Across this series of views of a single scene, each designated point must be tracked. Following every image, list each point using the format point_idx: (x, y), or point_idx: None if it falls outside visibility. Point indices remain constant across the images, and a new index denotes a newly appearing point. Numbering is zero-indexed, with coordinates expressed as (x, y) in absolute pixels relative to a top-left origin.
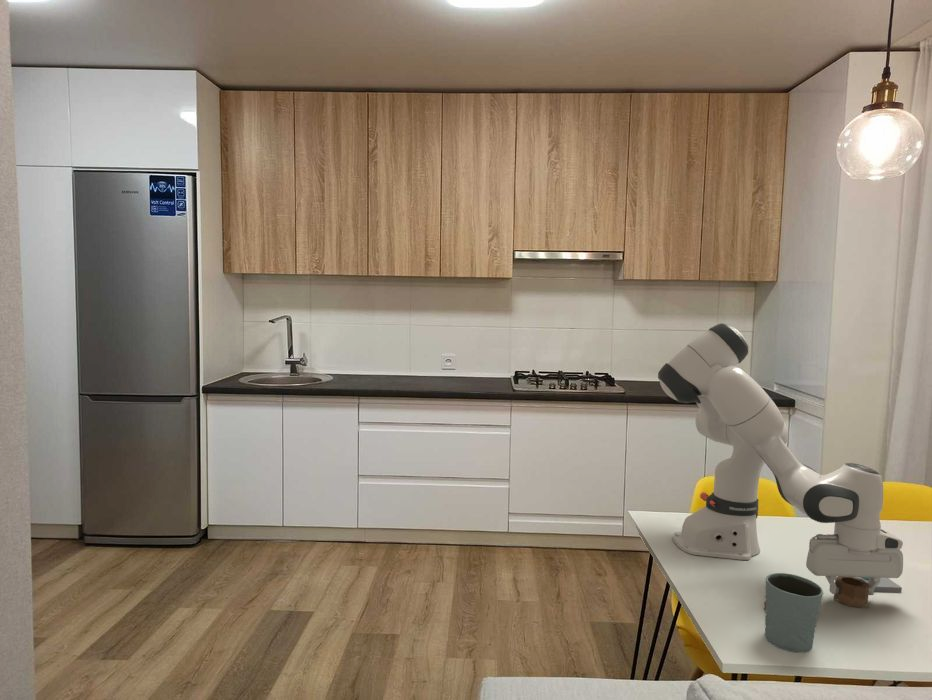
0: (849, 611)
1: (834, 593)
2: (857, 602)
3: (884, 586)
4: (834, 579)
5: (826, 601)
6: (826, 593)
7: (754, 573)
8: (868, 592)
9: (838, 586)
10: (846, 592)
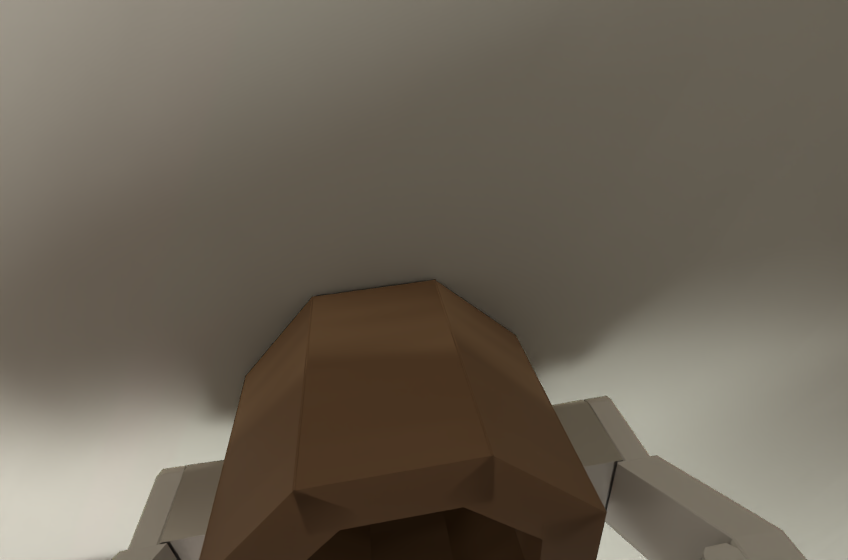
0: (524, 182)
1: (601, 400)
2: (398, 314)
3: None
4: (737, 557)
5: (619, 337)
6: None
7: None
8: (223, 476)
9: None
10: (528, 405)
